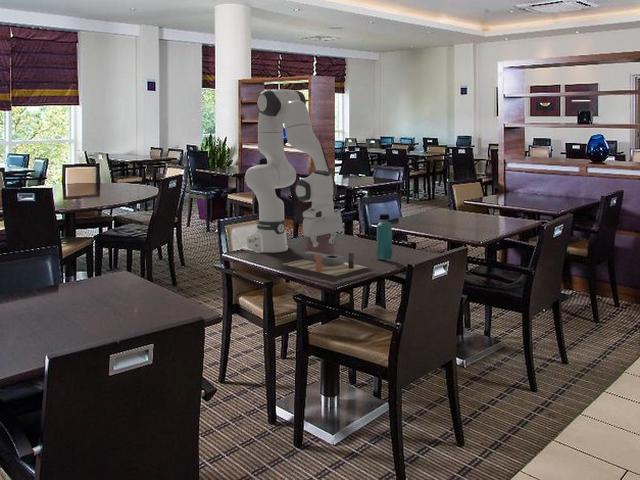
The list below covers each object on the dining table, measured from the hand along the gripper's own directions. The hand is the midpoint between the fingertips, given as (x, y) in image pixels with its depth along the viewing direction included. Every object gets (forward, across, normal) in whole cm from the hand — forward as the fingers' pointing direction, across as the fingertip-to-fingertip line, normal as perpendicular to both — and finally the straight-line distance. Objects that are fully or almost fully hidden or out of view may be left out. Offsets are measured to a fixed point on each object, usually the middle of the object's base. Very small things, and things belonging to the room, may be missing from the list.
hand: (323, 245), depth 264 cm
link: (+7, 0, -1) cm, 7 cm away
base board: (+8, +4, +4) cm, 10 cm away
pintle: (+9, 0, +14) cm, 17 cm away
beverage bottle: (+9, -21, +14) cm, 27 cm away
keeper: (+7, +10, +6) cm, 14 cm away
